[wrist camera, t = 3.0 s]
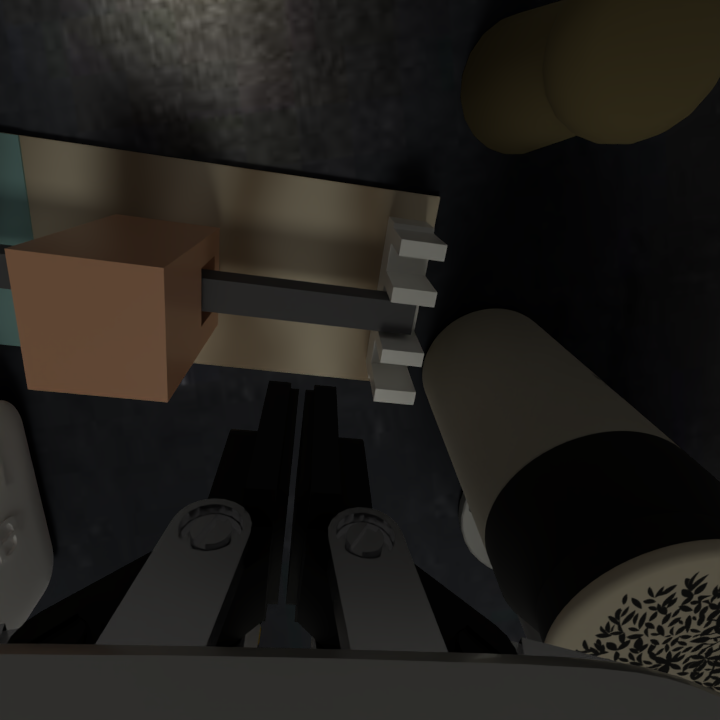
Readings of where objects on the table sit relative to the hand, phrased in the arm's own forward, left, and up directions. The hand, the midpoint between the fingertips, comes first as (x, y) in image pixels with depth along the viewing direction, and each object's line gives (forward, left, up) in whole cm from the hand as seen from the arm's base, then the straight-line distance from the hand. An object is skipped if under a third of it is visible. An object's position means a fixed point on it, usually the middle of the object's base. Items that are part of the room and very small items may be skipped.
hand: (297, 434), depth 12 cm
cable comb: (-4, 0, -16) cm, 16 cm away
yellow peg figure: (-9, -11, -16) cm, 21 cm away
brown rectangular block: (+8, 0, -14) cm, 16 cm away
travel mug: (-11, +4, -16) cm, 20 cm away
